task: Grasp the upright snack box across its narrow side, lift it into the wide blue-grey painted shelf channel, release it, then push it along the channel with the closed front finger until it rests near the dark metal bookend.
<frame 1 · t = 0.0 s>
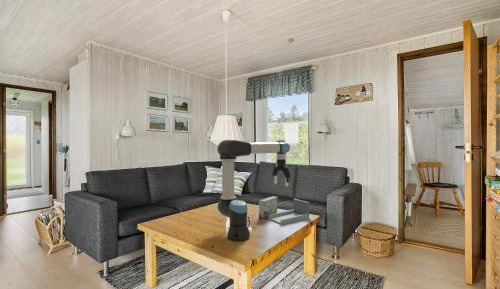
hand: (281, 184, 209), 28 cm above the table, fingers open, 13 cm apart
snack box: (268, 216, 218), on the table
shelf: (288, 218, 210), on the table
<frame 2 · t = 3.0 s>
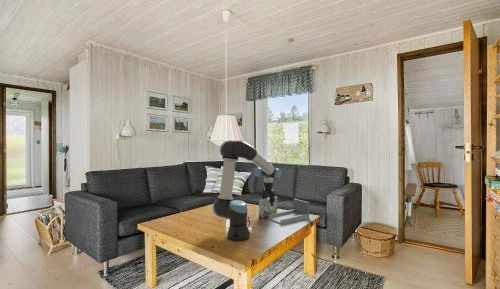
hand: (268, 208, 218), 6 cm above the table, fingers closed on snack box, 7 cm apart
snack box: (268, 216, 218), on the table, touching gripper
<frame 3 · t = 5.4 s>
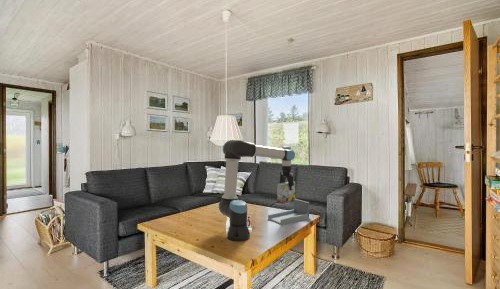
hand: (286, 193, 209), 21 cm above the table, fingers closed on snack box, 7 cm apart
snack box: (286, 201, 209), point 15 cm above the table, touching gripper
when the fingers open (8 cm above the table, at t = 8.1 s): snack box stays where it is, resting on shelf.
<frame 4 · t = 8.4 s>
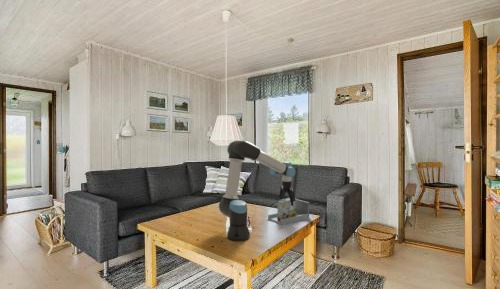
hand: (286, 208, 209), 9 cm above the table, fingers open, 9 cm apart
snack box: (287, 217, 209), point 1 cm above the table, touching shelf
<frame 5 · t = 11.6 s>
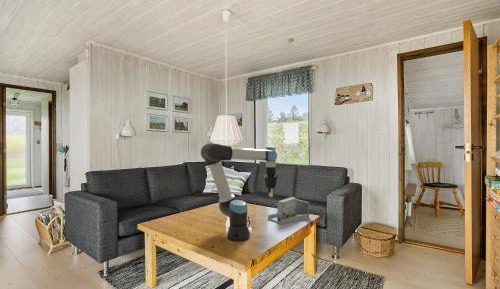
hand: (270, 196, 199), 21 cm above the table, fingers closed
nothing on the table moved.
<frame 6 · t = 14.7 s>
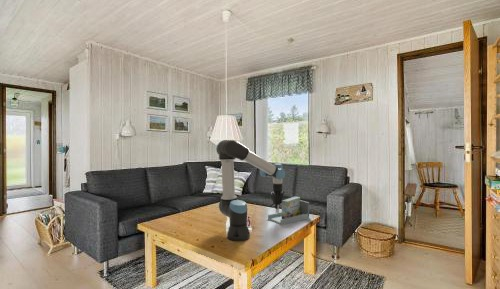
hand: (277, 212, 204), 7 cm above the table, fingers closed
snack box: (291, 216, 212), point 1 cm above the table, touching hand, shelf
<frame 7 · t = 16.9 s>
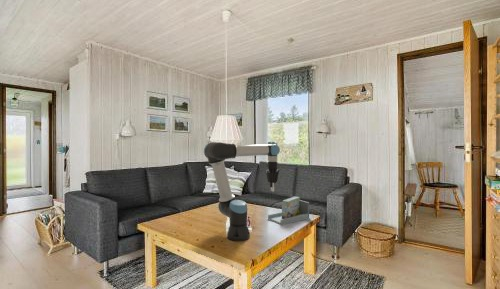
hand: (272, 191, 202), 24 cm above the table, fingers closed
snack box: (291, 216, 212), point 1 cm above the table, touching shelf
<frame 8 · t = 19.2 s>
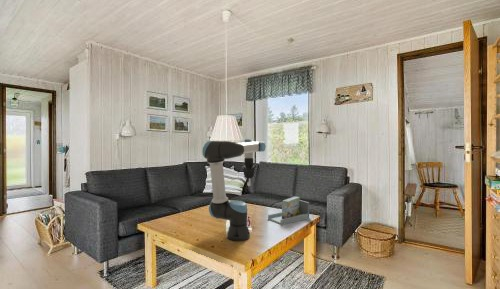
hand: (248, 185, 214), 26 cm above the table, fingers closed
nothing on the table moved.
at the end: snack box inside the target area on the shelf (1.3 cm from its centre), point 1.0 cm above the shelf's base; snack box tilted 0°; the gripper is holding nothing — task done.
